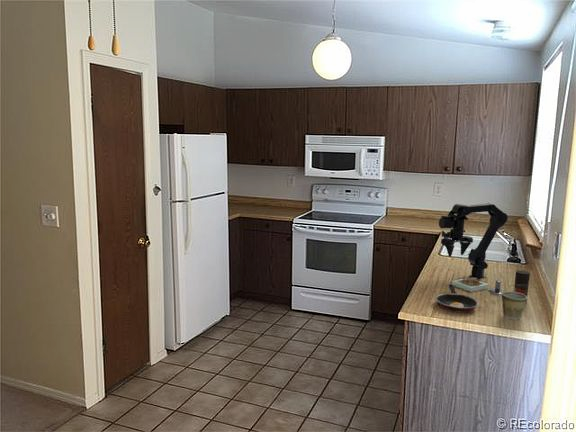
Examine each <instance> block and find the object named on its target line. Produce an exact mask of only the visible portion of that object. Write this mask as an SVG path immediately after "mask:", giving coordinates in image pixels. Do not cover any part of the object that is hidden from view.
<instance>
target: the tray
mask: <svg viewBox="0 0 576 432" xmlns="http://www.w3.org/2000/svg"><path fill="white" fill-rule="evenodd" d="M462 279H463V278H461V279H456V280H452V282H451V284H452V285H453V286H454V287H457V288H458V289H462V290H464V291H467V292H469V293H474V292H477V291H478V292H479V291H482V290H487V289H488V290H489V284H488V283H486V282H482V281H480V280H479V283H480V285H478V286H467V285H465V284H463V281H462Z"/></svg>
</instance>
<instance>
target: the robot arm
mask: <svg viewBox="0 0 576 432" xmlns="http://www.w3.org/2000/svg"><path fill="white" fill-rule="evenodd" d="M486 212H487V213H488V215H489V216H490V218H489V225H488V227H487V229H486V231H485V233H484V234H483V236H482V237H481V240H480V241H479V243H478V245H477V247H476V248H471V249H470V251H469V253H468V254H467V255H468V256H467V260H468V262H469V264H470V265H471V272H470V273H471V275H468V276H469V277H468V278H477V280H481V279H486V278H487V277H486V276H485V269H488V266H489V264H488V263H487V262H486V261H485V260H486V256H487V255H486V254H487V253H486V252H487V250H488V248H489V246H490V245H491V243H492V241H493V240H494V238H495V235H496V233H497V232H498V231H499V229H500V228H502V227H503V226H504V225H506V223H507V222H508V219H509V217H508V214H507V213H506V212H504V211H503V210H501V209H500V208H498V207H497V206H496V205H495V204H493V203H489V202H487V203H481V204H480V203H479V204H470V205H469V204H468V205H467V204H461V203H460V204H459V203H456V204H454V205H453V207H452V208H451V210H450V211H449V213H448V214H447V215H441V218H439V221H438V225H439V226H438V227H439V228H440V229H450V230H449V231H448V232H447V230H442V231H441V237H442V238H441V241H440V244H441V245H442V246H445V248H446V251H447V254H448V257H449V258H451V257H452V255H453V252H454V248H455V243H459V244H460V255H461V256H463V255H464V254H465V252H466V250H467V249H469V247H470V246H471V244H472V243H473V242H474V238H473V237H471V236H470V235H464V233H466V230H464V229H465V221H468V220H469V218H468V217H467V216H469V215H470V214H474V213H477V214H478V213H486Z"/></svg>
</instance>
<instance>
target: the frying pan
mask: <svg viewBox="0 0 576 432" xmlns="http://www.w3.org/2000/svg"><path fill="white" fill-rule="evenodd" d="M448 289H449V290H450V293H442V294H438V295H436V296H435V300H436V302H437V303H438V304H439V305H440V306H441V307H442V308H443V309H444V310H448V311H450V312H451V311H452V312H456V313H466V312H468V313H469V312H470V311H473V310H474V309H475V308H476V307H478V306H479V303H480V302H479V301H478V300H476V299H475V298H474V297H472V296H469V295H465V294H460V293H457V292H456V289H455V286H453V285H452V283H449V284H448Z"/></svg>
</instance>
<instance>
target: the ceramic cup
mask: <svg viewBox="0 0 576 432" xmlns="http://www.w3.org/2000/svg"><path fill="white" fill-rule="evenodd" d="M526 300H527V301H528V295H527V296H526V295H524V294H521V293H518V292H514V291H511V290H510V291H505V292H503V293H502V295H501V302H502V310H503V311H502V312H503V314H502V315H503V316H504V318H506V319H508V320H515V321H518V320H520V319H521V318H522V315H523V311H524V308H525V306H526V304H527V303H526Z"/></svg>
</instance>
